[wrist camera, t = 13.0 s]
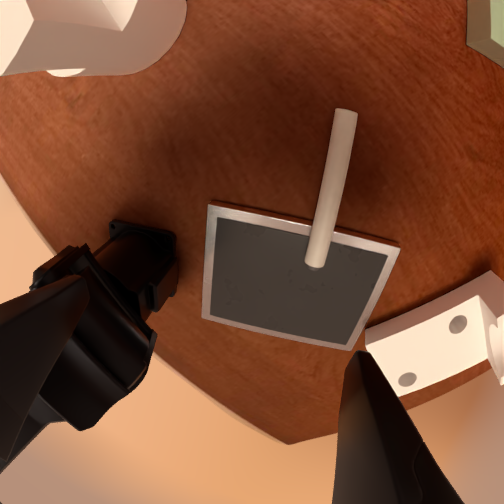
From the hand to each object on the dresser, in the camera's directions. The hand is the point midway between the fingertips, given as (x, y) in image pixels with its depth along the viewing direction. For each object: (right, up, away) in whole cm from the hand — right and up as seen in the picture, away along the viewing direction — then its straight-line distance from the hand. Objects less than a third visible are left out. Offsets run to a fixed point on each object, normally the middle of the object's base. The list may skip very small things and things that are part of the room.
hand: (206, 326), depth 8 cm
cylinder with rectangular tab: (-7, +19, +6) cm, 21 cm away
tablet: (+5, 0, +14) cm, 15 cm away
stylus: (+6, +1, +11) cm, 12 cm away
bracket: (+18, -4, +14) cm, 23 cm away
